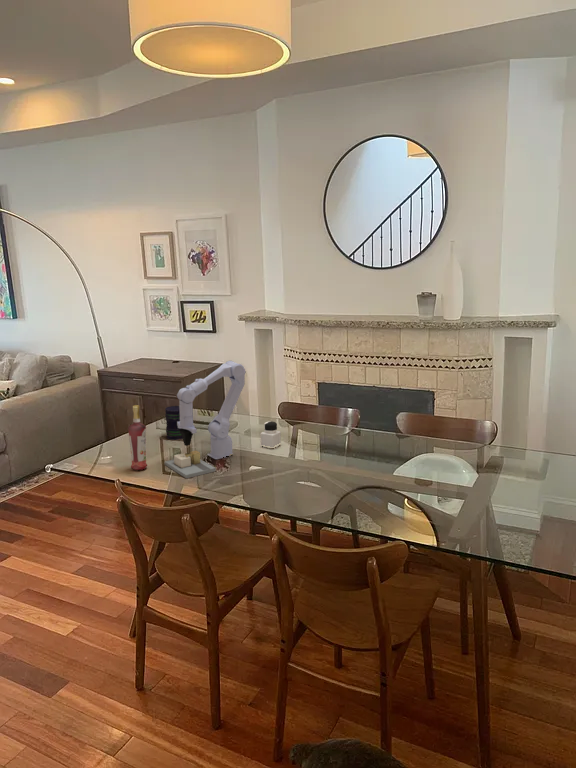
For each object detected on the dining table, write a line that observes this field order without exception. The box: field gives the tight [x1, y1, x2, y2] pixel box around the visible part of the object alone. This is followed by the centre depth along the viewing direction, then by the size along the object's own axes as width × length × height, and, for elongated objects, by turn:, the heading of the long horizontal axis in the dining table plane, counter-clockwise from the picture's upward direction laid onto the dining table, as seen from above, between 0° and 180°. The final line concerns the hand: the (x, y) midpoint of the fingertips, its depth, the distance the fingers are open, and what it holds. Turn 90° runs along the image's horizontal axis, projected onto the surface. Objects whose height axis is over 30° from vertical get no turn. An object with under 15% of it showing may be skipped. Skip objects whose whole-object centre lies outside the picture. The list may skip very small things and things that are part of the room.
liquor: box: [127, 404, 148, 471], centre depth 252 cm, size 7×7×28 cm
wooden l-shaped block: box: [184, 450, 201, 464], centre depth 256 cm, size 6×4×5 cm, turn 127°
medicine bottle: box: [260, 420, 282, 447], centre depth 283 cm, size 7×7×12 cm
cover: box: [173, 453, 191, 468], centre depth 255 cm, size 4×7×4 cm, turn 37°
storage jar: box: [165, 405, 183, 441], centre depth 297 cm, size 10×10×15 cm
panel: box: [164, 456, 217, 479], centre depth 256 cm, size 14×20×2 cm
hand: (187, 445), depth 262 cm, fingers closed
